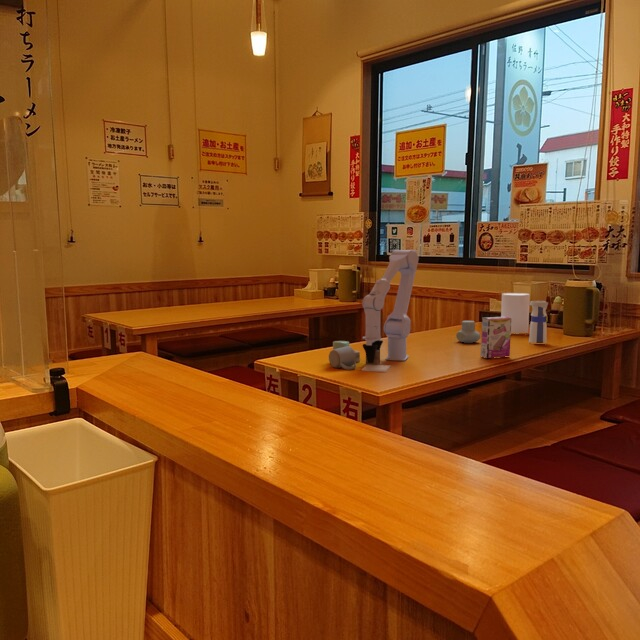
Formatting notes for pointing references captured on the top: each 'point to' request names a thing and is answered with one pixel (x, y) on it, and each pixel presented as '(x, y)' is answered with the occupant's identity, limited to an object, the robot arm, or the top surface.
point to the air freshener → (468, 332)
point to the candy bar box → (495, 337)
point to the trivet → (376, 368)
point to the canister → (516, 311)
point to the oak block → (357, 356)
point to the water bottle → (538, 322)
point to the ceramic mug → (343, 358)
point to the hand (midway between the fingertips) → (372, 360)
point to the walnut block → (377, 358)
